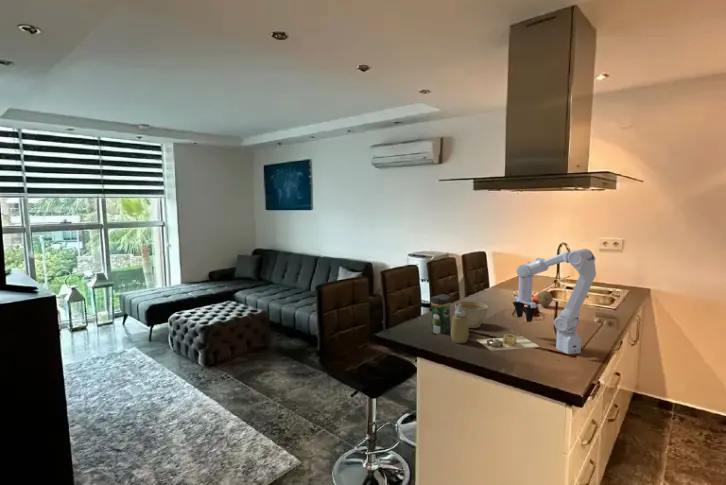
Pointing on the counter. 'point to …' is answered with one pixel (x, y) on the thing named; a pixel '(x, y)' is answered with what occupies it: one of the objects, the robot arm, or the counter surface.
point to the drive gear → (495, 343)
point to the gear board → (520, 344)
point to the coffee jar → (440, 314)
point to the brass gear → (510, 339)
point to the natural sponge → (545, 298)
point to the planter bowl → (473, 312)
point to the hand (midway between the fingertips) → (524, 319)
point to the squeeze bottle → (459, 326)
